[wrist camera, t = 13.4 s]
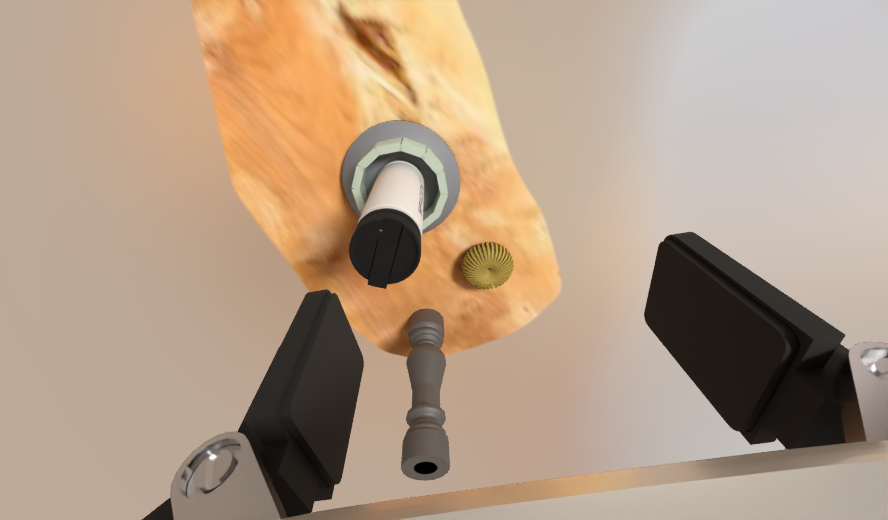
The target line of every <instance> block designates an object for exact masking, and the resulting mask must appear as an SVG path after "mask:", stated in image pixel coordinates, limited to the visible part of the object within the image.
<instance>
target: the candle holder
mask: <svg viewBox="0 0 888 520" xmlns="http://www.w3.org/2000/svg"><path fill="white" fill-rule="evenodd" d="M408 335H409V339H410V340H409V341H410V345H411V347H412V348H413V350H412V351H411V352H410V353H409V355H408V358H407V369H408V373H409V378H410V382H411V387H412V391H413V393H412V408H411V409H410V410H409V411H408V413H407V417H406V421H407V424H408V425H409V426H410V428H409V429H408V430H407V433H406V435H405V437H404V440H403V447H402V462H401V469H402V472H403V474H405V475H406V476H407V477H409V478H412V479H415V480H434V479H437V478H440V477H442V476H444V475H445V474H446V473H448V471H449V469H450V460H449V442H448V437H447V436H446V433H445V430H444V429H443V428H442V425H443V424H444V422H445V420H446V418H445V413H444V411H443V410H442V409H441V408H440V388H441V383H442V379H443V375H444V371H445V366H446V360H445V356H444V353H443V352H442V351H441V350H440V348H441V347H442V344H443V338H444V321H443V317H442V316H441V314H440V313H439V312H437V311H435V310H432V309H420V310H418V311H416V312H414V313H413V315H412V316H411V317H410V321H409V332H408Z"/></svg>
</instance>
